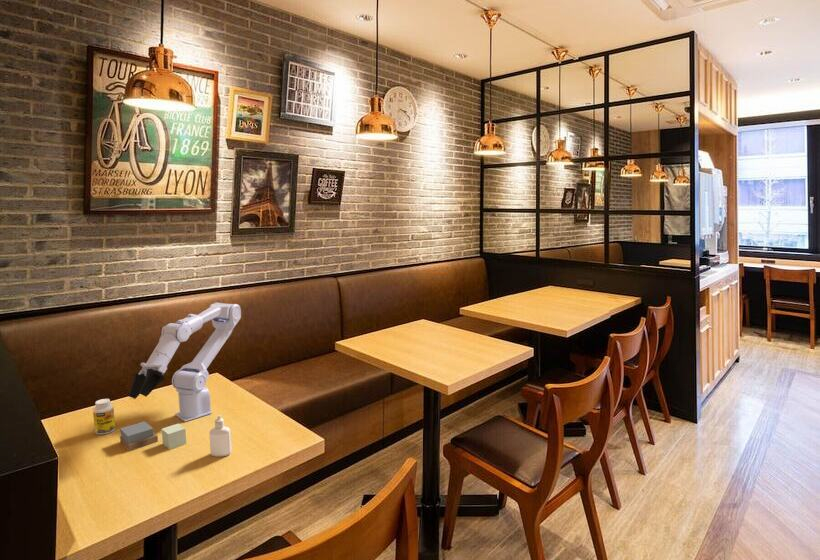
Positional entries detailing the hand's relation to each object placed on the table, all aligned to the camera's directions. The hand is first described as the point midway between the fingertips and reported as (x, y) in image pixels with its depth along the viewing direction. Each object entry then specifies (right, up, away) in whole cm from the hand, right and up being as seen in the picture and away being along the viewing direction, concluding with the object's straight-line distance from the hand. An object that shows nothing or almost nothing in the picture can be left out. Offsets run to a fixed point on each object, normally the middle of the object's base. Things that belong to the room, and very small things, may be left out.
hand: (137, 396), depth 145 cm
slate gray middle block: (-2, -13, +4) cm, 14 cm away
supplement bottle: (-16, -14, +11) cm, 24 cm away
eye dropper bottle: (+26, -17, -2) cm, 31 cm away
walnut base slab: (-2, -16, +4) cm, 16 cm away
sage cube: (+10, -15, +3) cm, 18 cm away
